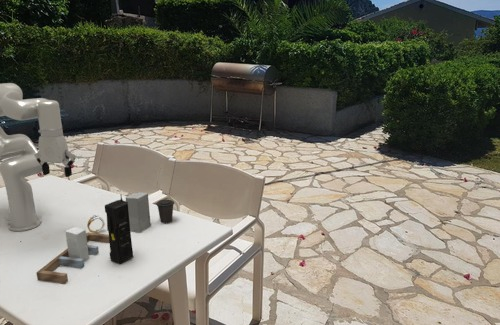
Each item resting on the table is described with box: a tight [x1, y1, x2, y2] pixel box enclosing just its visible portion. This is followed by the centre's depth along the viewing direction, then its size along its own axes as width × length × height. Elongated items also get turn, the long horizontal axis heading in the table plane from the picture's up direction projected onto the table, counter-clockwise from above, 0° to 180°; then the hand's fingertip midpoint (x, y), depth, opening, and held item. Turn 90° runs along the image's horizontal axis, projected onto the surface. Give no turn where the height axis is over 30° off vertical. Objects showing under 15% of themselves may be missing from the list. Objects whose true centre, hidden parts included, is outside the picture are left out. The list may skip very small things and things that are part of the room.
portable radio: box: [104, 195, 134, 265], centre depth 137 cm, size 8×6×25 cm
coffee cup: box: [156, 199, 175, 224], centre depth 172 cm, size 8×8×10 cm
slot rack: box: [36, 232, 110, 285], centre depth 140 cm, size 10×30×3 cm, turn 170°
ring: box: [86, 214, 106, 234], centre depth 160 cm, size 7×3×8 cm, turn 120°
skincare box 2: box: [125, 191, 152, 233], centre depth 164 cm, size 8×7×16 cm
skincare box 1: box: [64, 226, 90, 262], centre depth 139 cm, size 6×4×12 cm
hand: (57, 175), depth 147 cm, fingers open, 9 cm apart
